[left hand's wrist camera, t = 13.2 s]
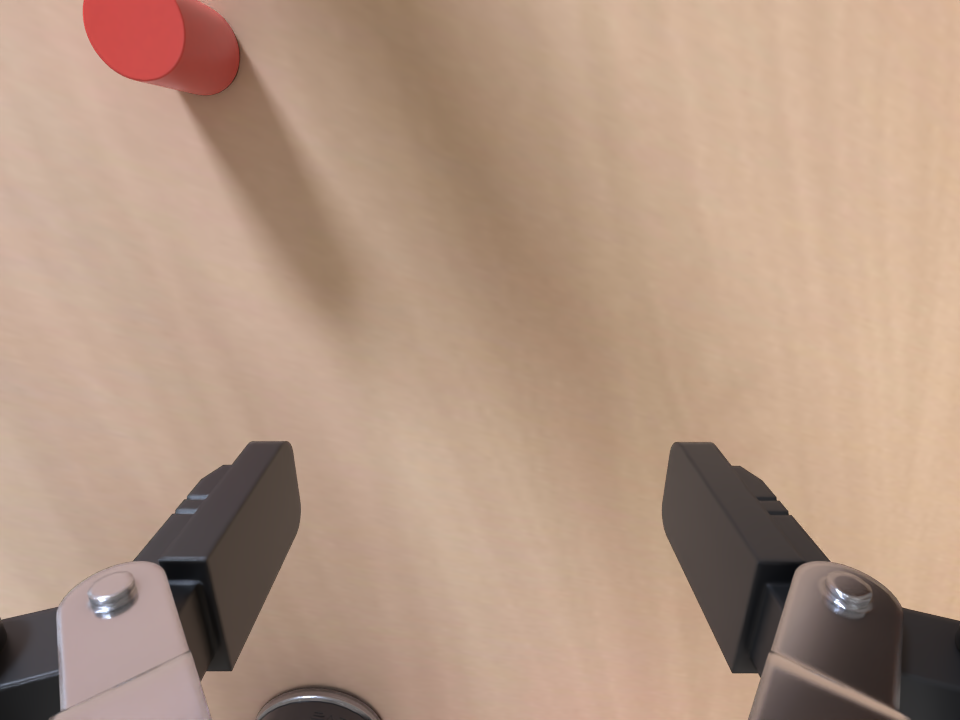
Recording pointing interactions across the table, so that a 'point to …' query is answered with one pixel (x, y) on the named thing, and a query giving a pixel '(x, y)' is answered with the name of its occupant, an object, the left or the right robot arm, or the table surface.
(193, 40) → the canister
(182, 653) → the left robot arm
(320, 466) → the table surface
